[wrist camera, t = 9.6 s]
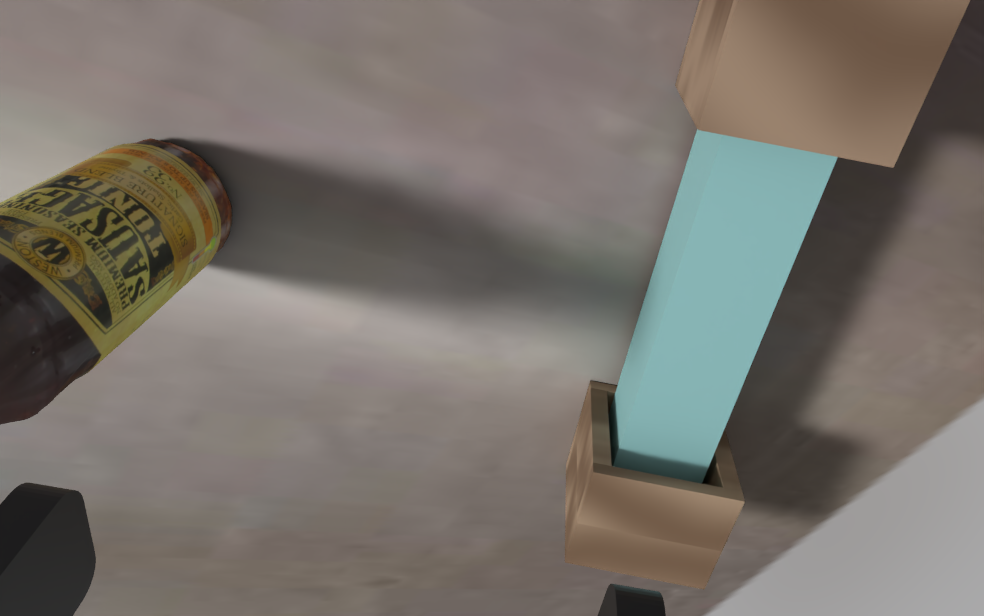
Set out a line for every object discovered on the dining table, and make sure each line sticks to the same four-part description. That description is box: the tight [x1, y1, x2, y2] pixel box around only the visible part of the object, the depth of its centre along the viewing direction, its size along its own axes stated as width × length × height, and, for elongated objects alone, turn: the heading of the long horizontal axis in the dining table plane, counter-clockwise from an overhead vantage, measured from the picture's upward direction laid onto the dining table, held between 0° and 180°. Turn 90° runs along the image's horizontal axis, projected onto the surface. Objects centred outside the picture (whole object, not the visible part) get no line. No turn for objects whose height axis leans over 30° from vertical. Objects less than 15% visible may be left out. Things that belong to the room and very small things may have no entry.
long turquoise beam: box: [608, 129, 838, 484], centre depth 31 cm, size 18×4×4 cm, turn 170°
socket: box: [565, 381, 745, 589], centre depth 35 cm, size 6×6×7 cm
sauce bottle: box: [0, 139, 232, 424], centre depth 25 cm, size 6×6×20 cm
